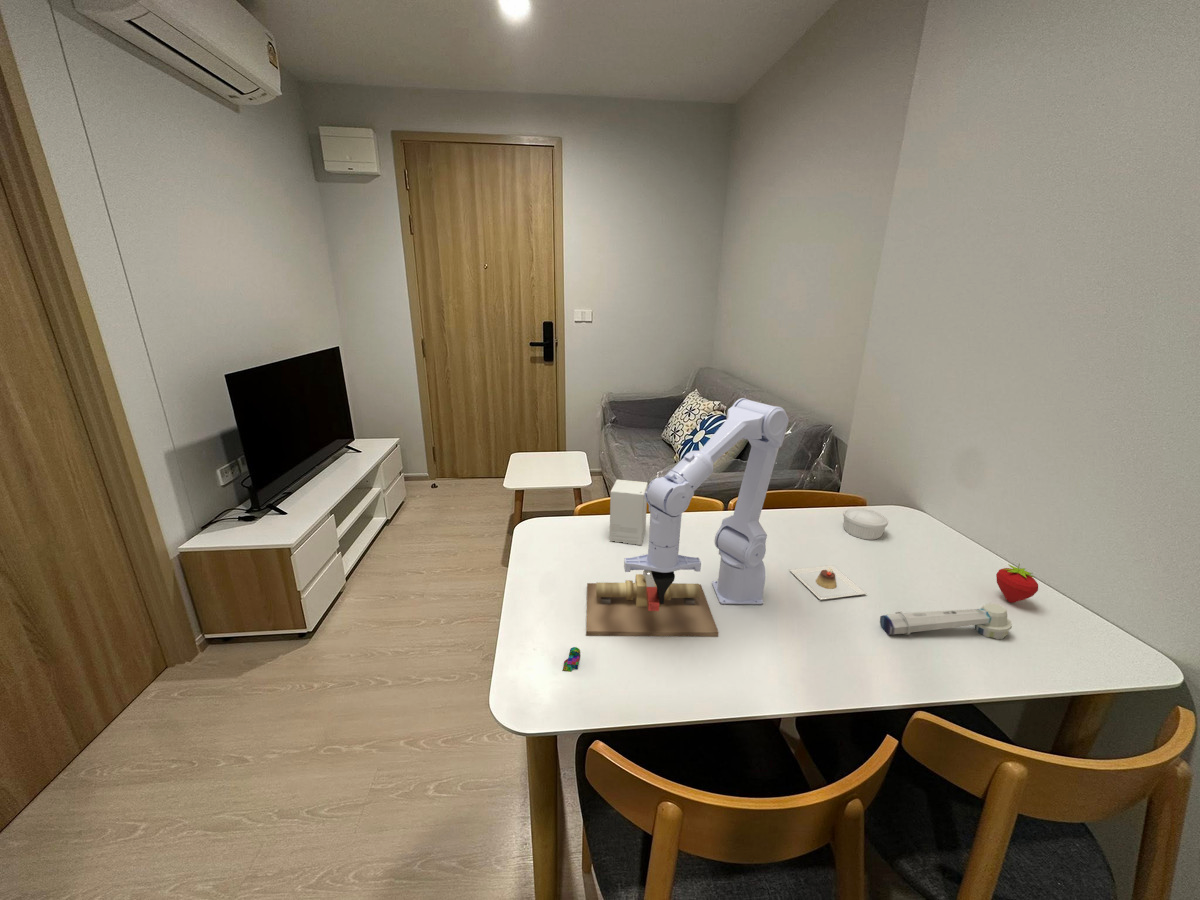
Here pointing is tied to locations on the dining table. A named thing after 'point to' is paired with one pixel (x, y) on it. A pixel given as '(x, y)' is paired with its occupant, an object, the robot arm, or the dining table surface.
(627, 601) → the valve board
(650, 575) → the valve lever
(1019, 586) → the strawberry
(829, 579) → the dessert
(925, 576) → the dining table surface
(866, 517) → the ramekin
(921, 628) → the toothbrush head
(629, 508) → the supplement box
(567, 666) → the puzzle cube
